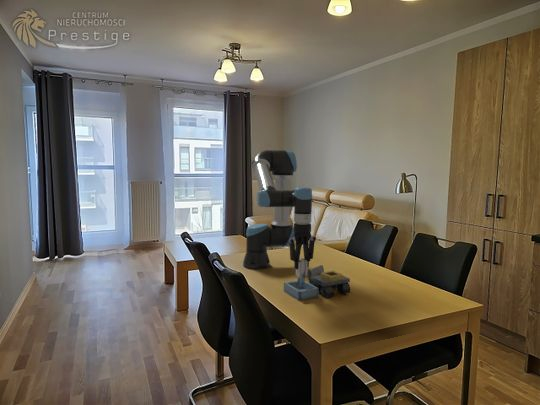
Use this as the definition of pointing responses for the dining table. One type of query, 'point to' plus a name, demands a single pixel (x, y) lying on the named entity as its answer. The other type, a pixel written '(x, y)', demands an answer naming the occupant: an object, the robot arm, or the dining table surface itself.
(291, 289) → the tray
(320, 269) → the electrical switch
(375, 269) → the dining table surface
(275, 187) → the robot arm
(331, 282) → the trolley
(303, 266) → the pin
